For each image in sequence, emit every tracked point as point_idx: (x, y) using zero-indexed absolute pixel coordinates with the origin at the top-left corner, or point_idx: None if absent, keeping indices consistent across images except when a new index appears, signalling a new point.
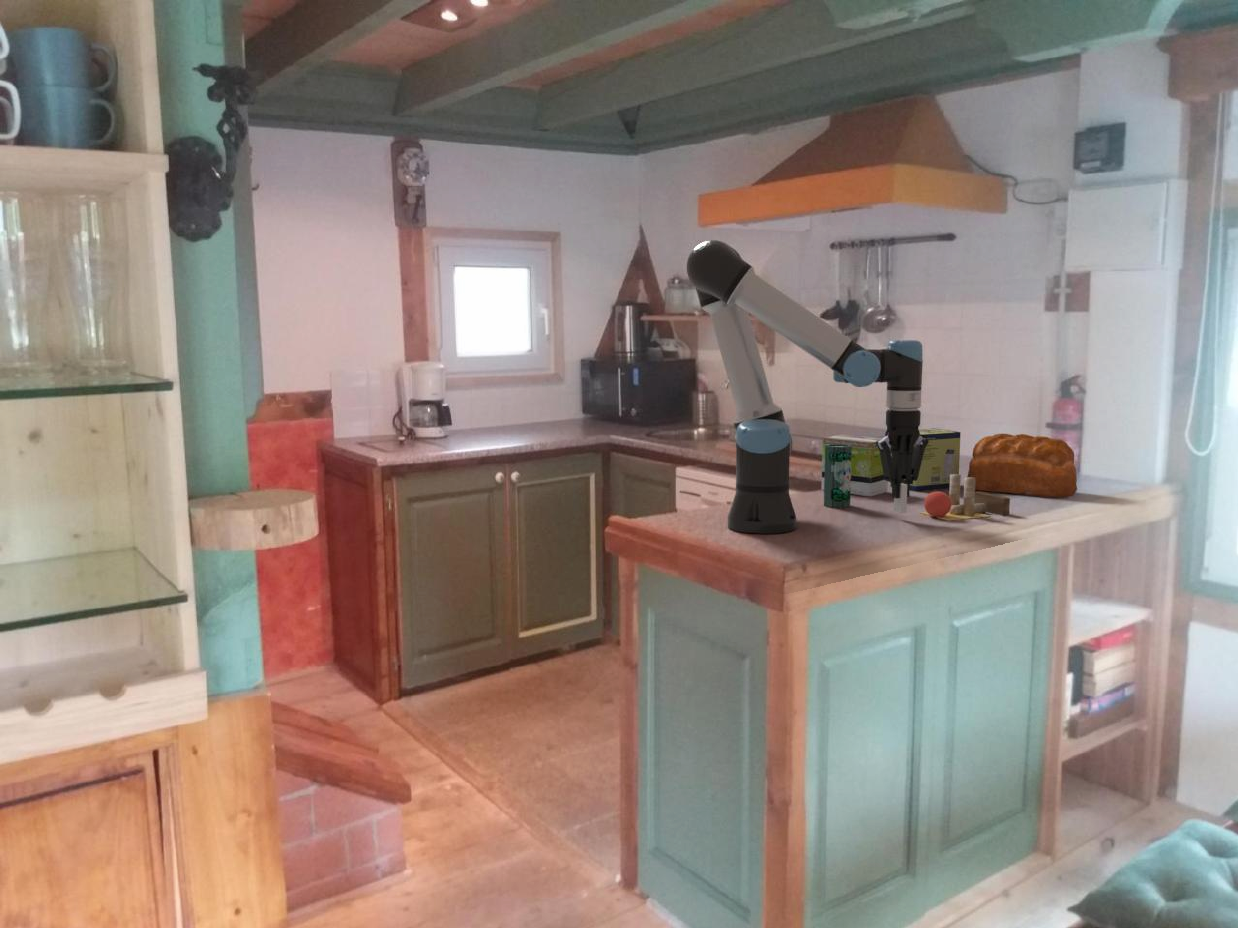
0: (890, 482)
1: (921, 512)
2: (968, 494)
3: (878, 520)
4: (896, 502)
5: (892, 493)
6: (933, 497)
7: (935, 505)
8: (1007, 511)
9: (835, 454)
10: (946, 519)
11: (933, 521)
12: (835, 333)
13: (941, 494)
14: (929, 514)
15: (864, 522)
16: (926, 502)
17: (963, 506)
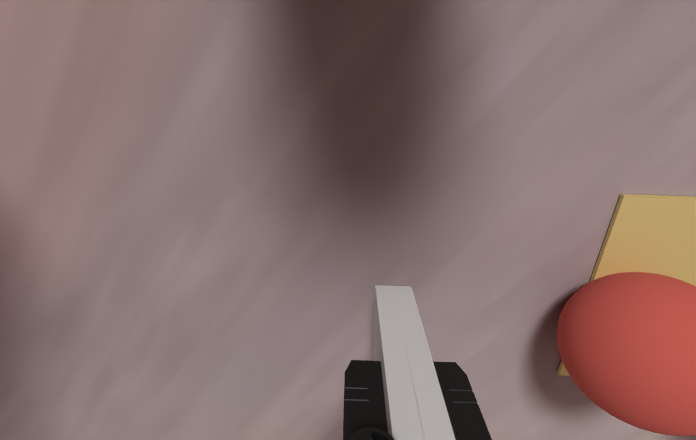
0: (358, 436)
1: (624, 203)
2: None
3: (287, 255)
4: (377, 341)
5: (344, 390)
6: (618, 406)
7: (578, 386)
8: None
9: None
10: (562, 366)
11: (495, 358)
12: None
13: (679, 434)
14: (606, 261)
15: (196, 265)
16: (582, 350)
17: None
